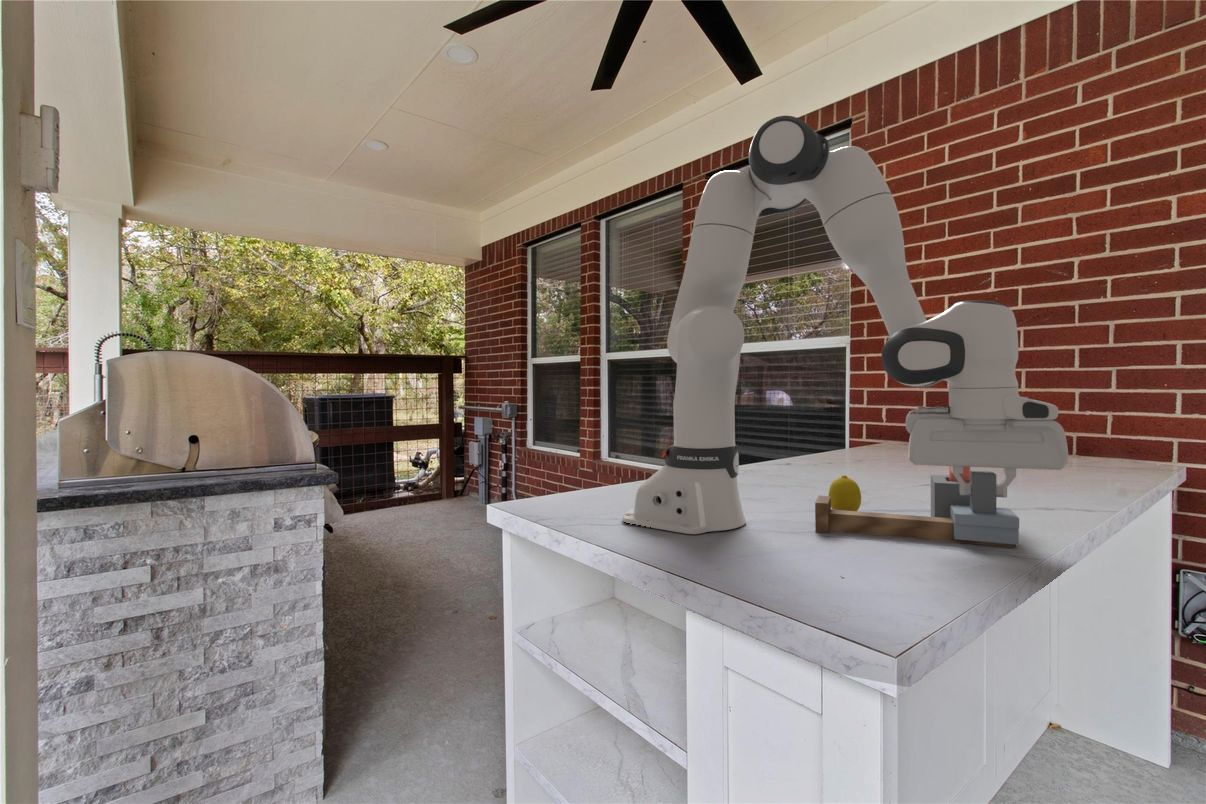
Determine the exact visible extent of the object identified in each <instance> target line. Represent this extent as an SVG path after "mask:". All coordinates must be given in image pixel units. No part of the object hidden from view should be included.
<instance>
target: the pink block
mask: <svg viewBox="0 0 1206 804" xmlns="http://www.w3.org/2000/svg"><path fill="white" fill-rule="evenodd" d="M948 471H949V473H948V474H949V475H948V476H949V481H952V482H958V480H957V479H956V477H955V476H954V474H953V473H952V471H951V466H948ZM970 471H971V467H963V473H959V475H960V476H961V478H962V479H963V481H964V482H970Z"/></svg>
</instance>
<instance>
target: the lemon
mask: <svg viewBox="0 0 1206 804" xmlns="http://www.w3.org/2000/svg"><path fill="white" fill-rule="evenodd" d="M861 493H862V491H861V489H860V486H859V485H858V483H857V482H856V481H855V480H854V479H852V478H850V477H848V476H847V475H841V476H840V477H838V478H836V479H834V480H833V481H832V482H831V484H830V485H829V489H828V496H831V509H832V510H846V511H859V509H860V506H861V504H862V494H861Z"/></svg>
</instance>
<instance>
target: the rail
mask: <svg viewBox="0 0 1206 804" xmlns="http://www.w3.org/2000/svg"><path fill="white" fill-rule="evenodd" d="M814 512H815V513H814V515H815V517H814V519H815V522H814V523H815V526H814V527H815V533H824V534H829V532H839V533H840V532H841V533H849V534H850V533H852V534H861V535H862V534H863V535H873V536H883V537H884V536H885V537H894V538H895V537H896V538H907V539H916V540H917V539H918V540H929V541H940V542H950V543H961V544H962V543H963V544H972V545H973V544H974V545H985V546H996V547H1004V548H1005V547H1008V548H1017V545H1016V544H1005V543H993V542H982V541H970V540H959V539H954V521H953V519H952V518H941V517H931V516H925V515H924V516H923V515H913V514H911V515H910V514H900V513H899V514H898V513H883V512H874V511H873V512H871V511H859V510H858V511H846V510H833V509H832V508H831V496H829V495H818V496H817V498H816V500H815V501H814Z"/></svg>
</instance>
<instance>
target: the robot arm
mask: <svg viewBox="0 0 1206 804" xmlns="http://www.w3.org/2000/svg"><path fill="white" fill-rule="evenodd" d="M748 151H749V152H748V163H749V164H748V165H747V166H746V167H744V168H742V169H739V170H736V169H735V170H734V169H733V170H731V169H730V170H723V171H719V172H717V173H715V174H713V175H712V176H711V177H710V178H709V180H708V181H707V182H706V185H705V186H704V188H703V189H704V190H703V192H702V194H701V197H700V200H699V202H698V203H699V204H698V206H697V209H696V212H695V217H694V221H693V225H692V226H693V227H692V230H691V235H690V239H689V240H690V241H689V246H688V250H687V251H688V252H687V255H686V262H685V266H684V271H683V276H682V279H681V283H680V287H679V290H678V293H677V297H676V301H675V305H674V308H673V313H672V317H671V320H670V325H669V329H668V334H667V341H666V343H667V344H666V347H667V350H668V354H669V355H670V357H671V359H672V360H673V361H674V363H676V374H675V375H676V377H675V386H674V387H675V389H674V390H675V391H674V396H673V403H672V406H673V407H672V409H673V411H672V412H673V444H671V445H670V446H669V447H668V448H666V449H664V450H663V451H661V453H662V455H661V457H662V459H664V462H665V465H664V466H662V467H660V469H658V470H657V471H656V472H654V473H653V474H652V475H651V476H650V477H648V478H647V479H646V480H645V481H644V482H642V483H641V484H640V485H639V486H638V488H637V491H636V493H635V494H636V495H635V499H634V507H632V508H630V509H628V510H627V511H626V512H624V513H623V515H622V522H623V521H624V522H626V523H630V524H629V525H632V524H636V525H635V526H638V525H641V526H640V527H644V526H646V527H645V528H650V527H651V528H652V529H656V530H662V531H663V530H664V531H669V532H675V533H681V534H687V535H699V534H705V533H707V532H709V533H710V532H718V531H719V532H720V531H727V530H733V529H737V528H740V527H742V526H744V525H745V524H746V523H747V521H746V517H745V514H744V511H743V506H742V504H741V503H742V502H741V499H740V491H739V485H738V475H739V472H740V471H739V470H740V468H739V467H740V466H739V465H740V463H739V461H740V460H739V459H740V458H739V457H740V456H739V452H738V451H739V450H738V445H737V444H736V426H735V425H736V421H735V419H736V418H735V416H736V414H735V412H736V411H735V408H736V407H735V403H736V401H735V399H736V392H737V386H738V378H739V371H740V363H741V353H742V352H741V351H742V349H743V346H744V343H745V329H744V325H743V322H742V321H741V319H740V318H739V316H738V315H737V314H736V312H734V310H735V308H736V305H737V302H738V300H739V297H740V293H741V291H742V289H743V287H744V284H745V282H746V279H747V272H748V268H749V264H750V263H749V262H750V258H751V254H752V253H751V252H752V247H753V242H754V237H755V232H756V226H757V222H758V219H759V217H765V216H767V217H768V216H769V215H770V216H771V215H775V214H786V213H791V212H793V211H795V210H797V209H799V208H800V207H801V206H803V204H804V203H806V202H807V201H809V202H810V203H811V204H812V205H813V207H814V208H815V210H816V211H817V212H818V214H819V217H820V220H821V222H822V226H823V227H824V230H825V233H826V235H827V238H828V241H830V243H831V245H832V247H833V248H834V250H835V252H836V253H837V254H838V256H839V258H840V259H841V260H842V262H843V263H844V264H845V265H846V266H847V267H848V268H849V269H850V270H851V271H852V273H854V274H855V275H856V276H857V277H858V279H860V280H861V282H862V283H863V284H864V285H865V286H866V288H867V289H868V291H869V292H870V294H871V296H872V298H873V299H874V300H873V301H874V302H875V304H876V307H877V309H878V311H879V312H878V313H879V314H880V316H881V319H882V320H883V323H884V325H885V329H886V330H887V333H888V339H886V340H887V341H886V342H885V343H884V346H883V347H882V350H881V357H880V358H881V364H882V366H883V369H884V371H885V372H886V373H887V375H888V376H889V377H890V378H892V379H893V380H894V381H896V382H897V383H900V384H902V385H904V386H909V387H912V388H927V387H931V386H935V385H937V384H938V383H940V382H942V381H946V382H947V383H948V405H947V406H933V407H932V406H931V407H927V406H917V407H915V409H912V410H910V411H909V412H908V413H907V414H906V416H905V429H906V431H907V433H908V434H910V435H909V439H908V453H907V458H908V460H909V461H910V463H912V464H913V465H916V466H938V467H942V466H943V467H949V466H951V471H952V473H953V474H954V476H955V477H956V479H957V480H958V482H959V483H960V495H968V496H972V491H971V490H972V484H971V483H965V482H964V481H963V479H962V478H961V476H960V475H959V473H963V467H970V468H992V469H993V468H995V469H996V468H997V469H999V468H1000V469H1001V470H1002V474H1003V475H1004V477H1003V479H1002V480H1001V481H1000V483H996V498H1004V499H1006V498H1008V487H1009V486H1010V485H1011V483H1013V481H1014V479H1015V478H1016V477H1017V469H1022V470H1023V469H1026V470H1051V471H1052V470H1053V471H1055V470H1056V471H1061V470H1063V469H1065V468H1066V466H1067V465H1068V464H1069V449H1068V442H1067V441H1068V440H1067V437H1066V435H1067V434H1066V433H1065V429H1064V427H1063V426H1062V425H1061V424H1060V423H1059V422H1057V421H1055V419H1057V418H1058V416H1059V408H1058V406H1056V404H1052V403H1049V402H1046V401H1041V400H1036V399H1035V398H1034V397H1028V396H1020V393H1019V381H1018V379H1017V376H1016V366H1017V363H1018V360H1019V336H1018V334H1019V333H1018V325H1017V320H1016V317H1015V313H1014V311H1013V310H1012V309H1010V307H1008V306H1007V305H1005V304H1004V303H1003V304H1002V302H996V301H990V300H989V301H988V300H975V299H973V300H961V301H957V302H955V303H953V305H951V306H950V307H948V309H946V310H945V311H943V312H941V313H939V314H937V315H936V316H933V317H932V318H929V319H927V317H926V316H925V313H924V310H923V309H922V306H921V303H920V300H919V299H918V297H917V294H916V292H915V289H914V287H913V285H912V282H911V279H910V276H909V272H908V269H907V268H908V266H907V262H906V252H905V241H904V240H905V239H904V233H903V226H902V223H901V218H900V213H899V210H898V207H897V205H896V201H895V199H894V196H893V195H892V192H891V189H890V187H889V185H888V184H887V182H886V179H885V177H884V176H883V174H882V172H881V170H880V169H879V168H878V166H877V165H876V162H874V160H873V159H872V157H871V156H870V155H869V153H868V152H867V151H866V150H865V149H863V148H862V147H860V146H856V145H847V146H843V147H840V148H837V149H834V150H831V151H830V145H829V141H828V139H827V138H826V137H824V136H823V135H821V134H820V133H818V132H816V131H815V130H814V129H813V128H812V127H811V126H810V125H809V124H808V123H807V122H805V121H804V120H803V119H800V118H798V117H796V116H793V115H779V116H776V117H773V118H771V119H769V120H767V121H766V122H765V123H763V124H762V125H761V126H760V127H759V129H758V130H757V131H756V132H755V134H754V135H753V138H752V140H751V143H750V147H749V150H748ZM624 522H623V523H624ZM626 523H625V524H626Z"/></svg>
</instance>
